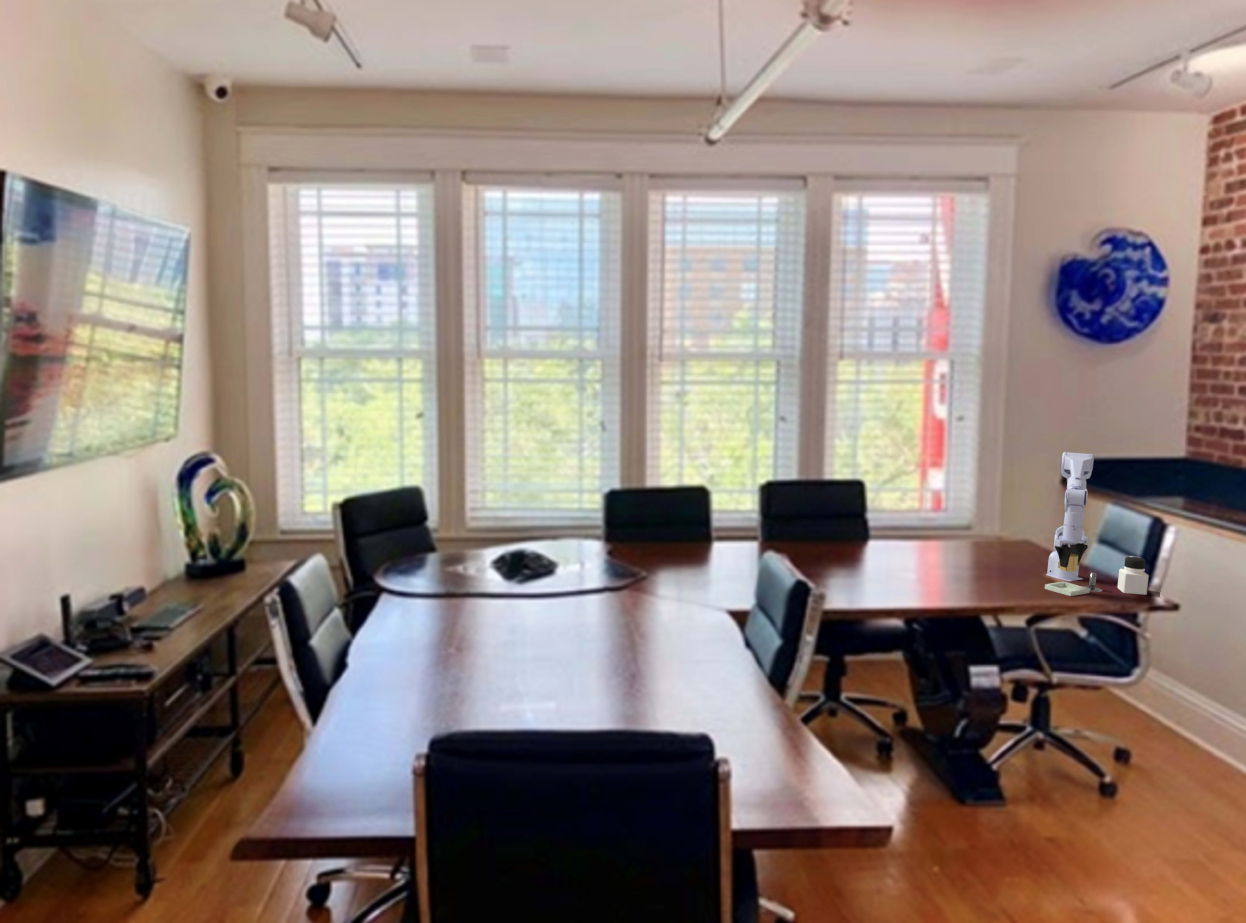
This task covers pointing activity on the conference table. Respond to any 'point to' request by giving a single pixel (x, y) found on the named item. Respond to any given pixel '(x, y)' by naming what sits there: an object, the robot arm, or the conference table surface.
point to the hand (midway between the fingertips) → (1069, 566)
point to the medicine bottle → (1133, 576)
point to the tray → (1067, 588)
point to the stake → (1093, 583)
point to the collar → (1070, 563)
